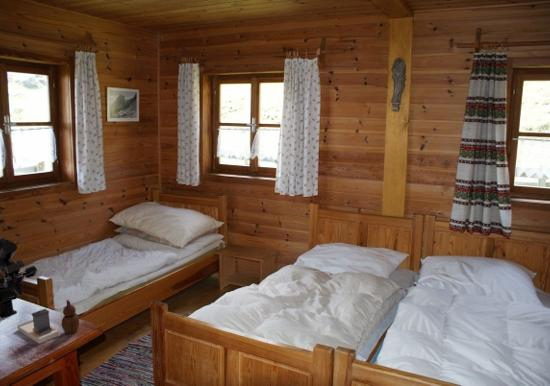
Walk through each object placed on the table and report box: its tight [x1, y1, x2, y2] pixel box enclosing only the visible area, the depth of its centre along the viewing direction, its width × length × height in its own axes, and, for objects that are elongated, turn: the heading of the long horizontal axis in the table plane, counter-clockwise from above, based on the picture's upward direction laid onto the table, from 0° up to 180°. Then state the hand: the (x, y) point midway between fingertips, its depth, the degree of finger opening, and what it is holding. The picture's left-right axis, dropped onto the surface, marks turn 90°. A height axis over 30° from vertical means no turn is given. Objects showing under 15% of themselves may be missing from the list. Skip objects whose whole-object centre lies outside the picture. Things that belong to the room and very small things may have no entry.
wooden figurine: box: [61, 300, 80, 334], centre depth 193 cm, size 7×6×15 cm
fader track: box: [17, 319, 60, 344], centre depth 193 cm, size 18×8×2 cm, turn 53°
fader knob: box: [31, 308, 52, 335], centre depth 189 cm, size 6×5×8 cm
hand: (20, 295), depth 197 cm, fingers closed
